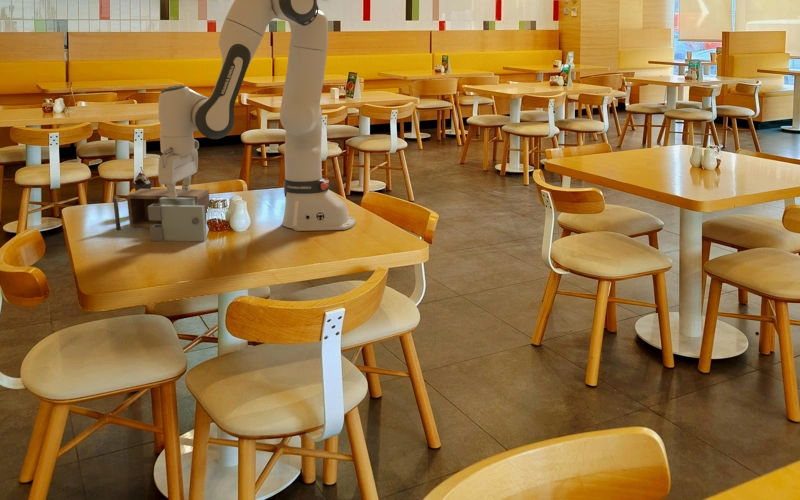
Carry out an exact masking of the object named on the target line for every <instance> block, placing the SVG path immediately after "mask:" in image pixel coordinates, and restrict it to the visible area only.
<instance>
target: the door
mask: <svg viewBox="0 0 800 500" xmlns="http://www.w3.org/2000/svg"><path fill="white" fill-rule="evenodd" d="M148 215H149V220H158V221H161V220H162V224H154V225H153V226H151V227H150V228H149V232H150V234H149V235H150V241H151V242H164V241H171V242H172V241H178V242H181V241H182V242H206V241H207V240H208V238H207V236H208V235H207V224H206V221H205V208H204V205H165V204H152V205H150V206H148Z"/></svg>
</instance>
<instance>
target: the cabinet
mask: <svg viewBox="0 0 800 500" xmlns="http://www.w3.org/2000/svg"><path fill="white" fill-rule="evenodd" d="M175 189H176V191H177V198H175V199H170V198H169V192H168V189H167V188H151V189H139V190H137V191H133V192H131V193H129V194H127V195H126V200H127V209H128V210H127V211H128V220H129V227H130V228H141V229H143V228H145V229H147V228H148V229H150V227H151V226H153V225H154V224H162V220H161V221H158V220H149V215H148V206H150V205H152V204H165V205H204V208H205V221H206V213H207V209H208V206H209V201H210V190H209V189H190V191H188V192H183V191H182V188H180V189H179V188H178V189H177V188H175ZM112 201H113V210H114V220H115V221H114V222H115V228H116V231H120V230H121V229H122V227H121V218H120V212H119V211H120V209H119V202H118V196H113V197H112ZM210 202H211V201H210Z"/></svg>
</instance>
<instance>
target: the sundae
mask: <svg viewBox="0 0 800 500" xmlns="http://www.w3.org/2000/svg"><path fill="white" fill-rule="evenodd" d="M131 185H132V186H133V187H134V190H135V191H137V190H139V189H152V185H154V181H152V180H149V178H148V177H147V176H146V175H145V173H144V170H143V169H142V166H141V167H140V171H139V172H138V173H137V176H136V177H135V179H134V181H133V182H132V183H131ZM135 191H134V192H135Z"/></svg>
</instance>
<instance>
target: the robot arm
mask: <svg viewBox="0 0 800 500" xmlns="http://www.w3.org/2000/svg"><path fill="white" fill-rule="evenodd" d="M274 19H278V20H282V21H287V23H288V25H289V28H290V39H289V46H288V56H287V65H286V75H285V80H284V84H283V91H282V96H281V97H282V98H281V103H280V111H279V121H280V125H281V126H282V127H283V129H284V130H285V138H284V139H285V140H284V152H283V155H284V156H283V158H284V175H285V178H284V179H283V180H284V182H283V193H284V197H285V205H284V212H283V217H282V218H283V219H282V223H281V225H282V226H283V227H285V228H290V229H292V230H293V231H296V232H302V231H304V232H305V231H306V232H307V231H311V232H312V231H342V230H344V231H345V230H349V229H351V228H353V226H355V224H356V218H355V217H354V216H349V211H348V208H347V205H346V203H345V201H344V200H342V199H341V198H340V197H338V196H337V195H336V194H334V193H333V192H331V191H330V190H329V187H330V185H329V183H330V182H329V181H330V180H329V179H325V178H324V177H323V175H322V172H323V171H322V136H323V135H322V133H323V131H322V129H323V127H322V126H323V123H322V122H323V121H322V117H323V116H322V113H323V112H322V107H321V99H322V91H323V87H324V82H325V81H324V80H325V75H326V63H327V55H328V47H329V23H328V18H327V15H326V14H325V13H324V12H323V11H321V10H320V9H319V6H318V1H317V0H234V1H233V3H232V4H231V6H230V9H228V12H227V15H226V17H225V19H224V21H223V23H222V27H221V29H220V34H219V39H218V47H219V49H220V53H221V59H222V61H221V68H220V71H219V74H218V77H217V79H216V82H215V85H214V88H213V90H212V93H211V95H210V97H208V96H205V95H203V94H200V93H198V92H197V91H194V90H193V89H191V88H189V87H188V86H187V85H183V84H181V85H173V86H169V87H166V88H163V89H162V90H161V91H160V93H159V97H158V106H157V108H158V121H159V124H160V131H159V142H160V143H159V144H160V145H159V146H160V152H161V153H162V154H161V156H160V157H159V158H158V169H157V170H158V172H157V173H158V174H157V175H158V177H157V178H158V182H159V184H160V185H166V187H165V188H166V189H168V192H169V198H170V199H175V198H177V191H176V189H177V188H176V185H177V183H178V182H180V181H182V185H181V189H182V191H183V192H188V191H190V190H191V181H192V175H194V174H196V173H197V172H198V166H199V156H198V155H199V154H198V153H199V152H198V149H199V147H200V143H199V141H198V140H197V139H195V138H194V132H197V131H198V132H199V133H200V134H201V135H202V136H204V137H206V138H208V139H211V140H219V139H222V138H225V137H226V136H227V135H229V134H230V132H231V131H232V130H233V128H234V125H235V104H236V102H237V98H238V96H239V93H240V89H241V87H242V86H243V85H242V84H243V81H244V78H245V76H246V73H247V70H248V69H249V66H250V64H251V62H252V60H253V58H254V57H255V55H256V52H257V51H258V48H259V46H260V45H261V43H262V40H263V37H264V34H265V32H266V31H267V30H266V29H267V27H268V26H269V24H270V22H272V20H274Z"/></svg>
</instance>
